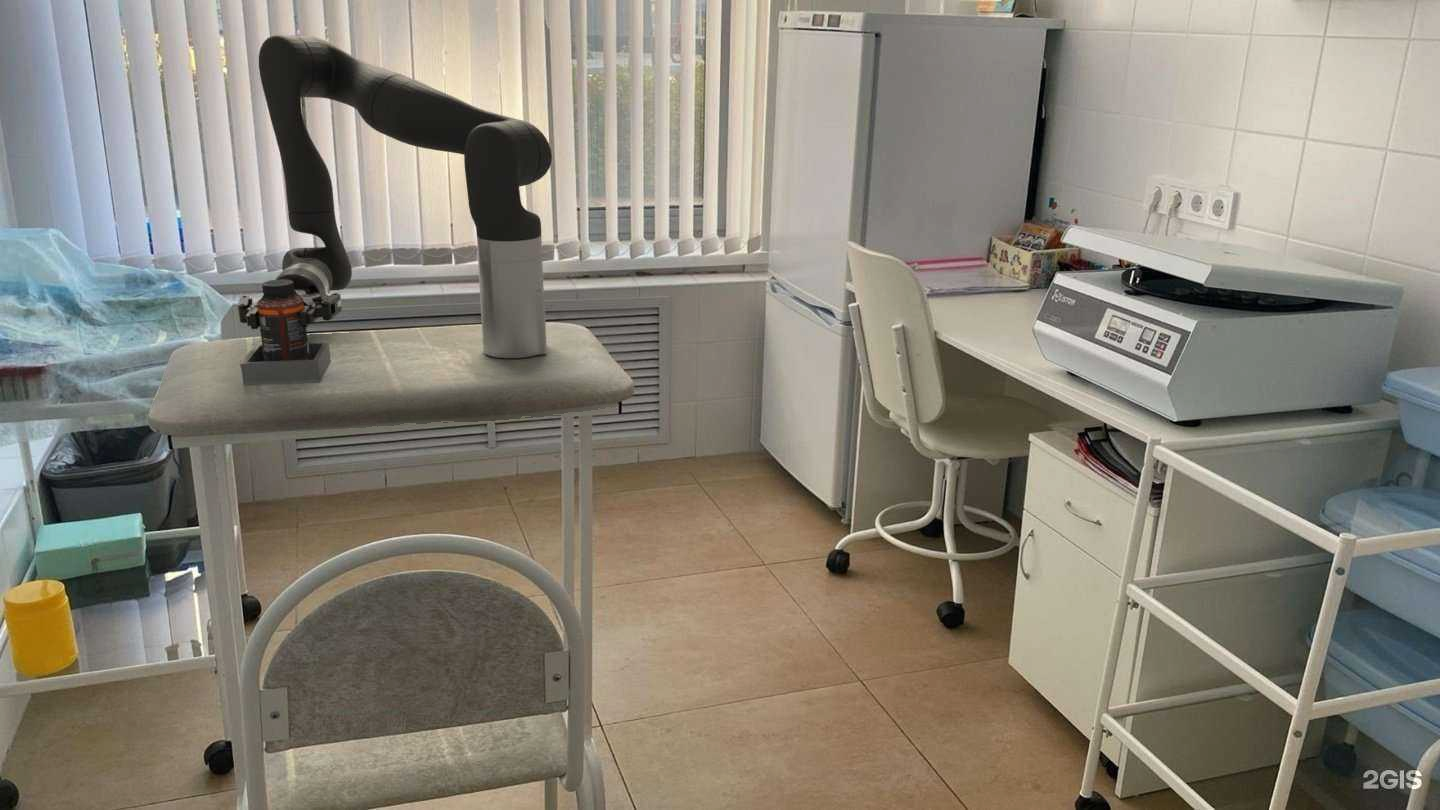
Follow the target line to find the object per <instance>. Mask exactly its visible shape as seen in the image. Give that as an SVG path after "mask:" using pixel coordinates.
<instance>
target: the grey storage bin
mask: <svg viewBox="0 0 1440 810" xmlns="http://www.w3.org/2000/svg"><path fill="white" fill-rule="evenodd" d="M308 347H309V359H308V360H291V361H265V360H264V355H263V347H262V343H257V344H255V345H254V346H253V347H252V348H251V350H250V351H249V352H248V354H246V356H245V358H244V359H243V360H242V361H241V363H240V369H241V378H242V379H241V380H242V385H243V386H255V385H256V386H258V385H259V386H260V385H264V386H265V385H283V384H286V385H287V384H302V383H303V384H304V383H305V384H306V383H308V384H309V383H310V384H311V383H321V382H322V380H323V378H324V376H325V374H326V372H327V371H328V369H329V367H330V364H331V363H332V359H331V352H330V350H331V349H330V348H331V347H330V341H316V342H315V341H313V342H309V341H308Z"/></svg>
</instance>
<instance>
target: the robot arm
mask: <svg viewBox="0 0 1440 810" xmlns="http://www.w3.org/2000/svg"><path fill="white" fill-rule="evenodd" d="M258 70H259V77H260V80H261V81H260V82H261V86H262V90H263V95H264V98H265V102H266V105H267V109H268V113H269V117H270V121H271V126H272V128H273V132H274V136H275V139H276V140H275V141H276V144H277V147H278V150H279V154H280V159H281V164H282V165H281V166H282V170H283V176H284V184H285V193H286V194H285V196H286V205H287V212H288V213H287V214H288V215H287V216H288V221H289V222H288V223H289V226H290V228H291V230H292V231H294V232H297V233H301V234H306V235H312V236H316V237H317V238H319V239H320V240H321V241H322V242H323V245H324V246H320V247H319V246H317V247H295V248H292V249H289V250H288V251H286V252H285V254H284V256H283V259H282V261H281V267H282V268H281V269H282V271H281V272H280V274H279V275H278V276H277V277H276V278H275V279H274V280H280V279H286V280H291V281H293V285H294V292H295V294H296V295H297V296H299V297H300V298H301V299H302V301H303V306H304V308H303V309H302V310H301V312H300V316H301V325H302V327H306V328H308V327H309V326H310V325H312V324H314V323H315V322H318V321H319V318H322V320H323V321H330V320H333V319H334V318H335V317H336V316H338V314H339V313H341V312H342V311H343V310H342V299H341V294H340V292H339V293H338V292H334V293H331V294H330V291H331V292H332V291H341V290H344V289H346V288H347V287H348V285H349V284H350V282H351V280H352V276H353V275H352V274H353V268H352V264H351V262H350V261H351V260H350V258H349V255H348V254H347V251H346V249H345V245H344V244H343V241H342V238H341V235H340V232H339V228H338V224H337V219H336V214H335V212H336V211H335V202H334V194H333V193H334V192H333V184H332V178H331V174H330V171H329V169H328V167H327V164H326V162H325V161H324V159H323V157H322V156H321V154H320V152H319V151H318V149H317V147H316V146H315V144H314V142H313V140H312V138H311V135H310V134H309V132H308V131H309V130H308V129H307V127H306V123H305V121H304V117H303V111H302V110H303V109H302V98H321V99H322V98H323V99H327V100H332V101H336V102H338V103H341V104H344V105H346V106H350V107H352V108H353V109H355V110H356V111H357V113H358V114H359V115H360V117H361V119H362V120H363V121H364V122H365V123H366V125H368V126H369V127H370V128H372V129H373V130H374V131H376V132H378V133H380V134H383V135H385V136H387V137H390V138H391V139H393V140H396V141H398V142H401V143H403V144H407V145H410V146H413V147H418V148H422V149H426V150H427V149H428V150H433V151H439V152H447V153H451V154H452V153H453V154H458V155H462V156H464V157H463V158H464V159H463V161H464V165H463V166H464V175H465V181H466V189H467V190H466V191H467V199H468V207H469V213H470V216H471V219H472V221H473V223H474V225H475V229H476V230H475V233H476V247H477V264H478V265H477V266H478V281H479V299H480V315H481V329H482V330H481V332H482V333H481V335H482V337H481V339H482V347H483V354H485V355H487V356H489V357H492V358H498V359H499V358H500V359H522V358H528V357H534V356H538V355H547V353H548V352H547V329H546V303H545V301H546V298H545V288H544V286H545V285H544V272H543V270H544V269H543V268H544V267H543V264H544V263H543V248H542V245H543V243H542V240H543V239H542V221H541V218H540V216H539V215H538V214H536V213H535V212H532V211H529V210H527V209H526V208H525V207H524V206H523V204H522V198H521V193H520V187H523V186H528V185H531V184H533V183H535V182H538V181H539V180H541V179H542V178H543V177H545V175H546V174H547V173H548V171H549V170H550V167H551V165H552V161H553V155H552V154H553V153H552V148H551V146H550V143H549V141H548V140H547V138H546V136H545V134H544V133H543V132H542V131H541V130H540V129H539V128H538V127H537V126H535V125H534V124H532V123H530V122H528V121H525V120H523V119H522V120H521V119H518V118H514V117H509V116H506V115H502V114H499V113H495V112H492V111H488V110H485V109H482V108H479V107H477V106H474V105H471V104H469V103H467V102H465V101H464V100H461V99H459V98H457V97H455V96H452V95H450V94H449V93H446V92H443V91H441V90H439V89H436V88H434V87H431V86H430V85H429V84H428V85H427V84H426V83H423V82H421V81H419V80H416V79H413V78H411V77H409V76H406V75H404V74H401V73H398V72H395V71H392V70H390V69H386V68H384V67H382V66H381V67H380V66H378V65H375V64H372V63H367V62H365V61H362V60H361V59H359V58H358V57H356V56H353V55H352V54H350V53H349V52H347V51H345V50H343V49H341V48H340V47H338V46H337V45H334V44H333V43H331V42H329V41H328V40H326V39H322V38H320V37H315V36H309V35H295V34H294V35H293V34H273V35H271V36H269V37H267V38H266V39H265V40H264V41H263V43H262V45H261V47H260V50H259V52H258ZM329 294H330V295H329ZM261 298H262V297H260V299H261ZM260 299H259V300H260ZM259 300H253V298H252V297H250V296H249V295H242V296H239V298H238V303H237V310H238V316H239V323H241V324H246V325H247V326H248V327H250V328H251V330H258V329H260V324H259V316H258V309H257V303H258V301H259Z"/></svg>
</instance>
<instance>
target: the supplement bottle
mask: <svg viewBox="0 0 1440 810" xmlns="http://www.w3.org/2000/svg"><path fill="white" fill-rule="evenodd" d="M261 287H262V293H263V295H262V297H260V298H261V299H259V300H257V301H258V303H257V309H258V316H259V324H260V326H259V330H260V339H261V344H262V347H263V355H264V360H265V361H291V360H308V359H309V347H308V342H309V341H308V331H307V327H302V325H301V316H300V312H301V310H302V309H303V308H304V306H303V301H302V299H301V298H300V297H299V296H297V295H296V294H295V292H294V285H293V281H291V280H286V279H280V280H275V279H272V280H267V281H263V282H262V283H261Z"/></svg>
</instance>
